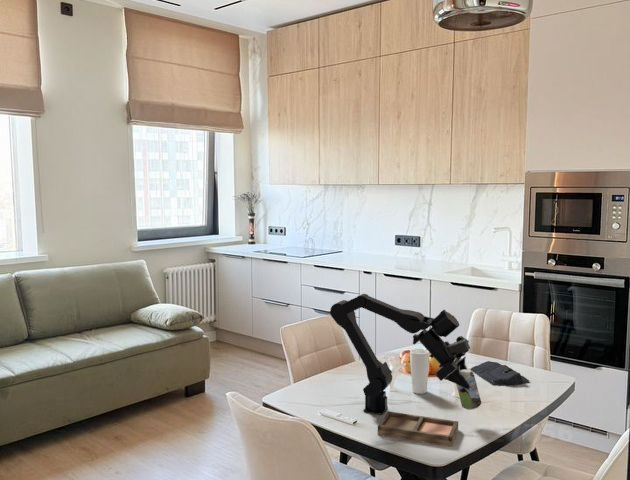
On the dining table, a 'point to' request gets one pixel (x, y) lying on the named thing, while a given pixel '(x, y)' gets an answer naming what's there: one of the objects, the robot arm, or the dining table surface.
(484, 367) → the dark slate chunk
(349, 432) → the dining table surface
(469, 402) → the beverage can
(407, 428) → the divided wooden tray
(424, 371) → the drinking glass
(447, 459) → the dining table surface
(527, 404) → the dining table surface
